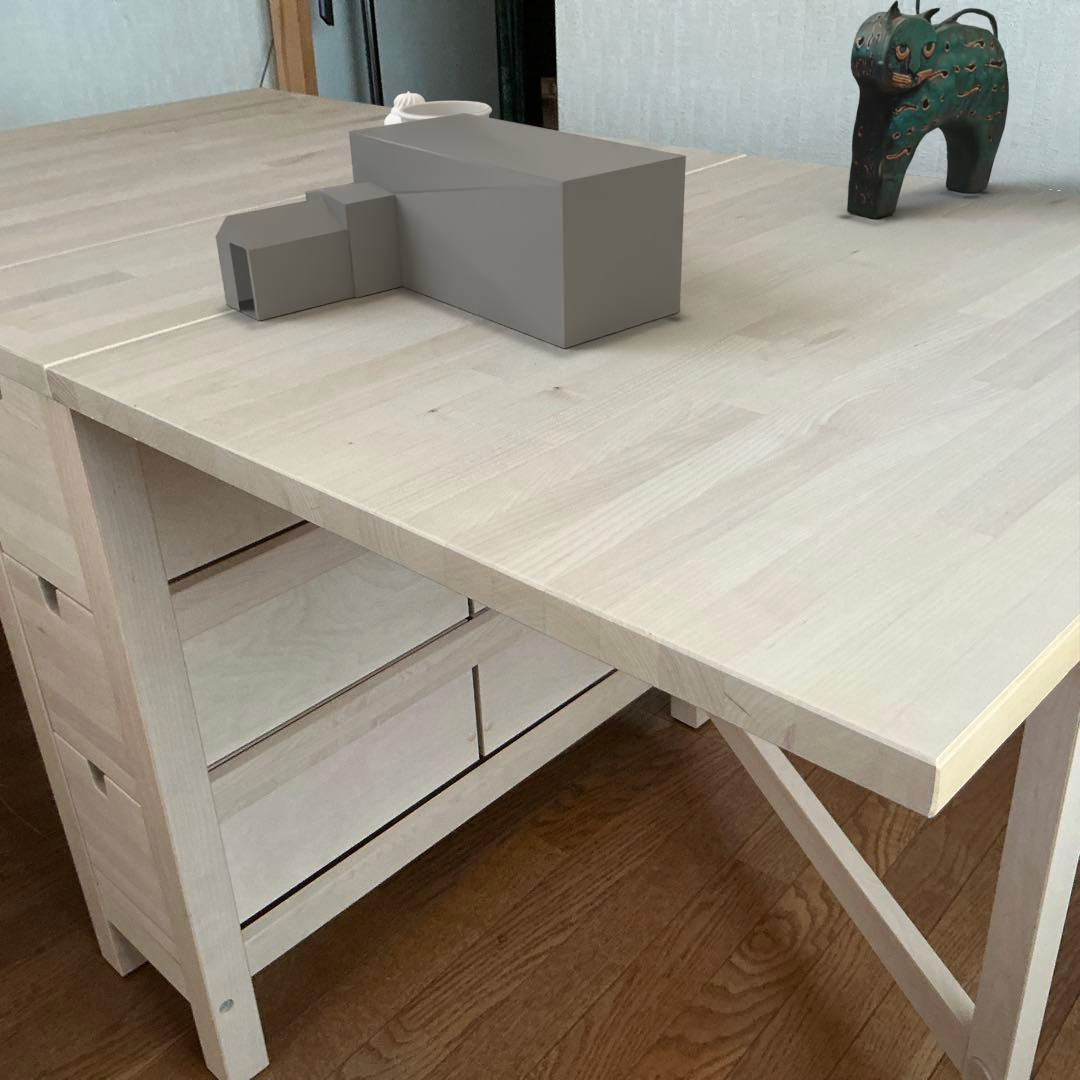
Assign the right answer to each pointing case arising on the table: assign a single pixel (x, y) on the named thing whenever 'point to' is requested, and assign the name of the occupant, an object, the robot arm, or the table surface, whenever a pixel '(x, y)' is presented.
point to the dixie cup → (442, 110)
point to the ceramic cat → (924, 102)
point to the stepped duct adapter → (476, 229)
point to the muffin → (401, 102)
